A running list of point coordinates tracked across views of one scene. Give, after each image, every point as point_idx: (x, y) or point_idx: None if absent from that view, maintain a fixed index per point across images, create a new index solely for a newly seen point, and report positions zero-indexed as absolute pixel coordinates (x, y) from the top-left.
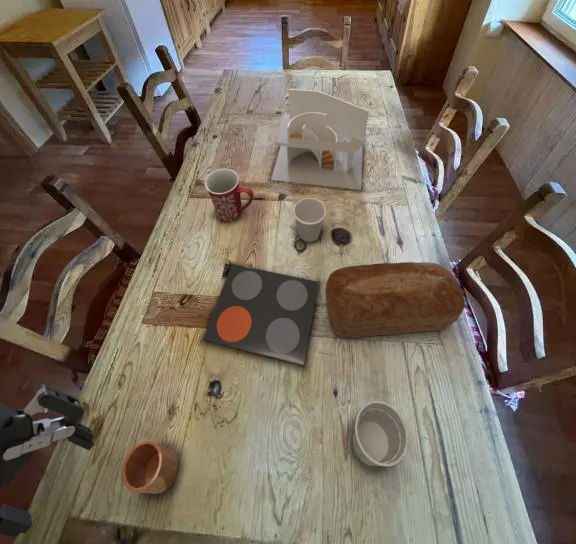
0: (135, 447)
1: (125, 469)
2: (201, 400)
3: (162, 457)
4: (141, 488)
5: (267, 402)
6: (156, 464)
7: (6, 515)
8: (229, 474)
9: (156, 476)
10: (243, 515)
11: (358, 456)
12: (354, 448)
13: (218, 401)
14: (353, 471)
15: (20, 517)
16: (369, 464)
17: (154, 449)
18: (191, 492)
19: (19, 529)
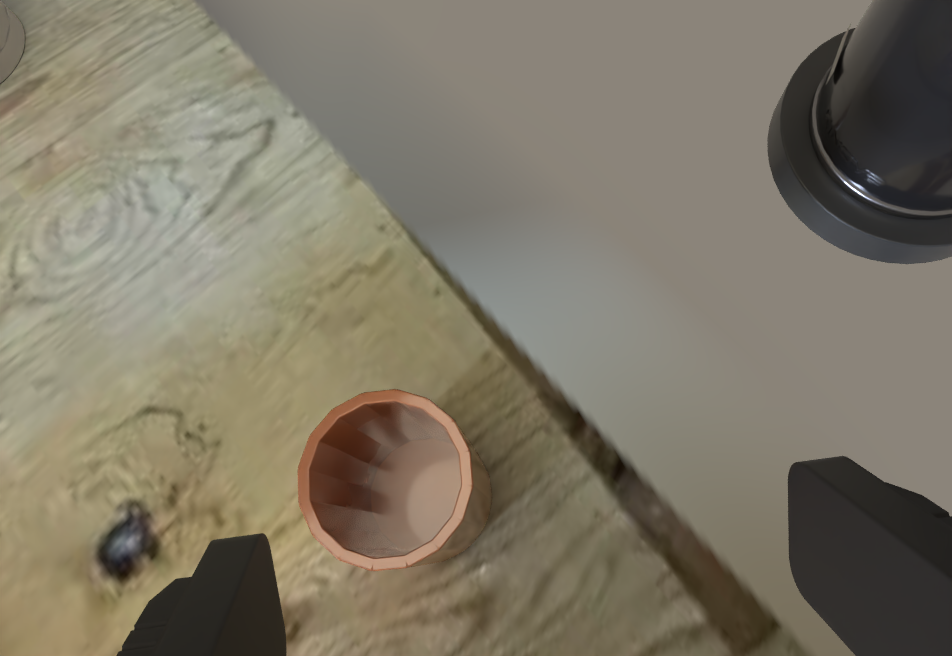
0: (367, 561)
1: (444, 525)
2: (189, 558)
3: (313, 433)
4: (429, 408)
5: (53, 351)
6: (426, 520)
7: (942, 617)
8: (283, 304)
9: (365, 393)
10: (323, 204)
11: (17, 52)
12: (6, 70)
13: (152, 499)
14: (58, 48)
15: (844, 558)
16: (9, 13)
17: (380, 544)
18: (393, 364)
19: (866, 480)
